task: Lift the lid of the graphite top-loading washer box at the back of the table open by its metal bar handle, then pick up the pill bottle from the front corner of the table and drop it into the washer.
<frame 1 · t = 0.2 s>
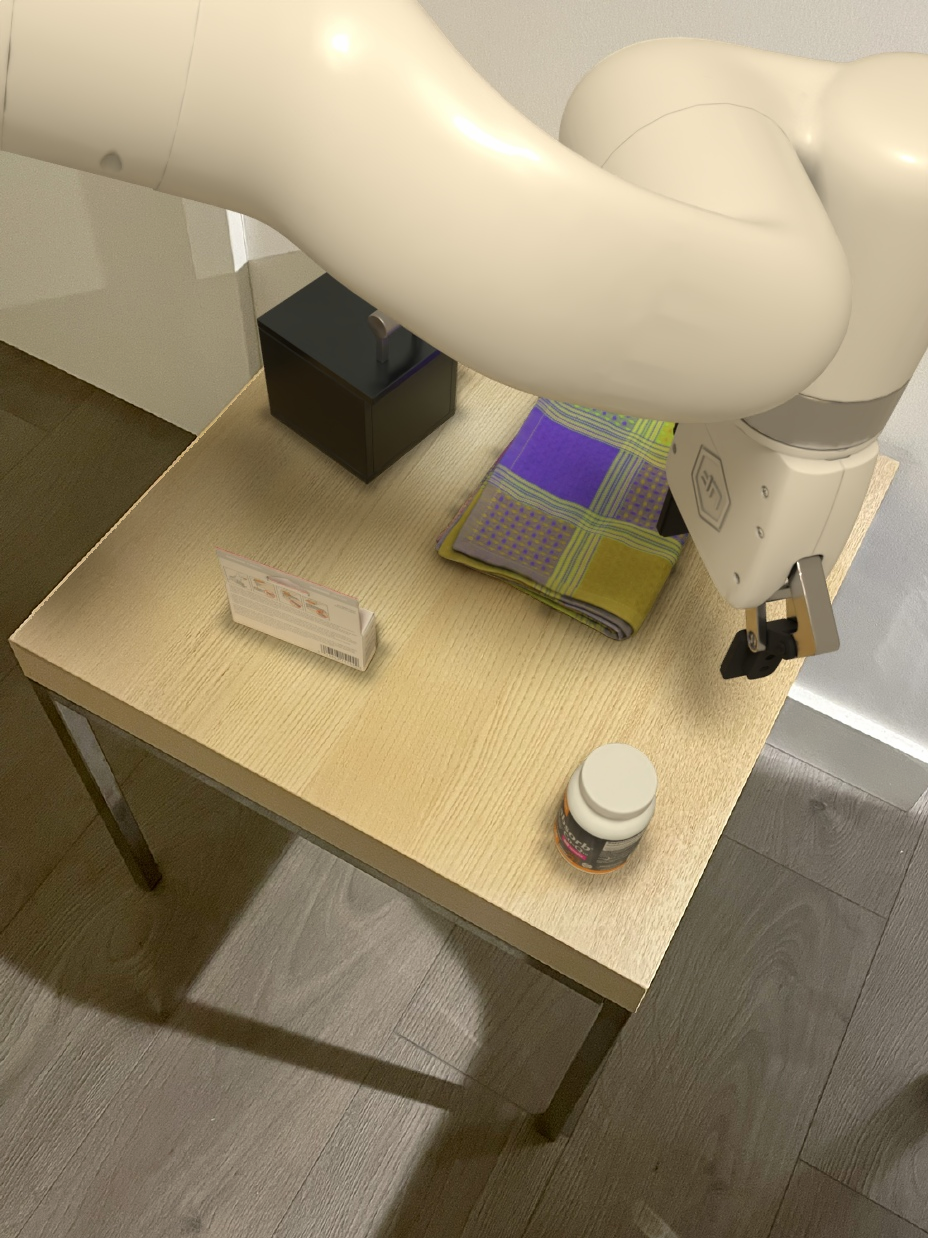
hand: (713, 596, 60), 20 cm above the table, tool pointing down, fingers open, 9 cm apart
washer: (363, 413, 93), on the table
washer lid: (362, 302, 83), point 13 cm above the table, hinge at 0.0°
pill bottle: (593, 838, 73), on the table
dish towel: (588, 505, 89), on the table
ink cartridge box: (304, 638, 81), on the table
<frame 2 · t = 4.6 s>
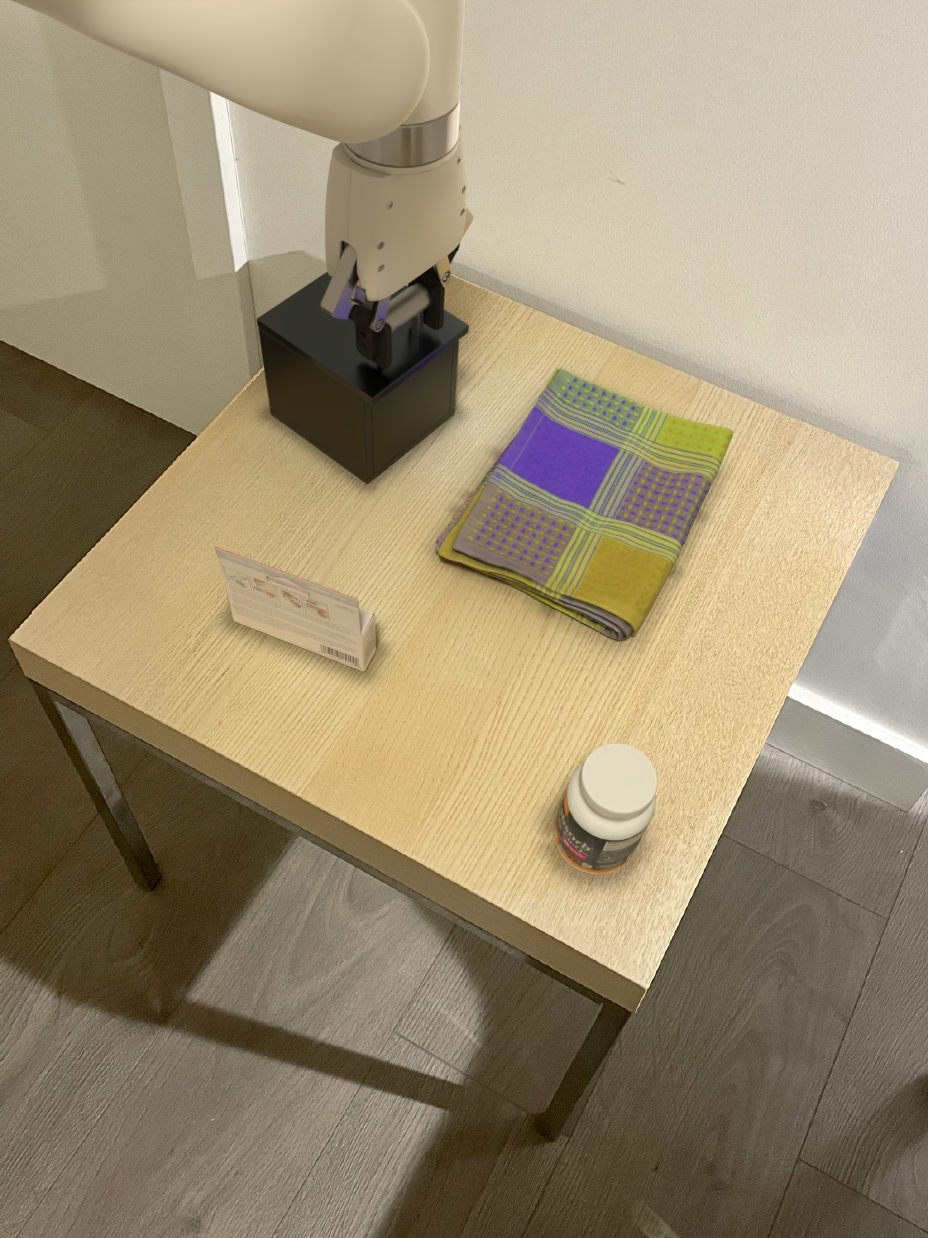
hand: (400, 337, 82), 12 cm above the table, tool pointing down, fingers closed on washer lid, 5 cm apart
washer lid: (362, 302, 83), point 12 cm above the table, hinge at 0.0°, touching gripper
everything else where it was.
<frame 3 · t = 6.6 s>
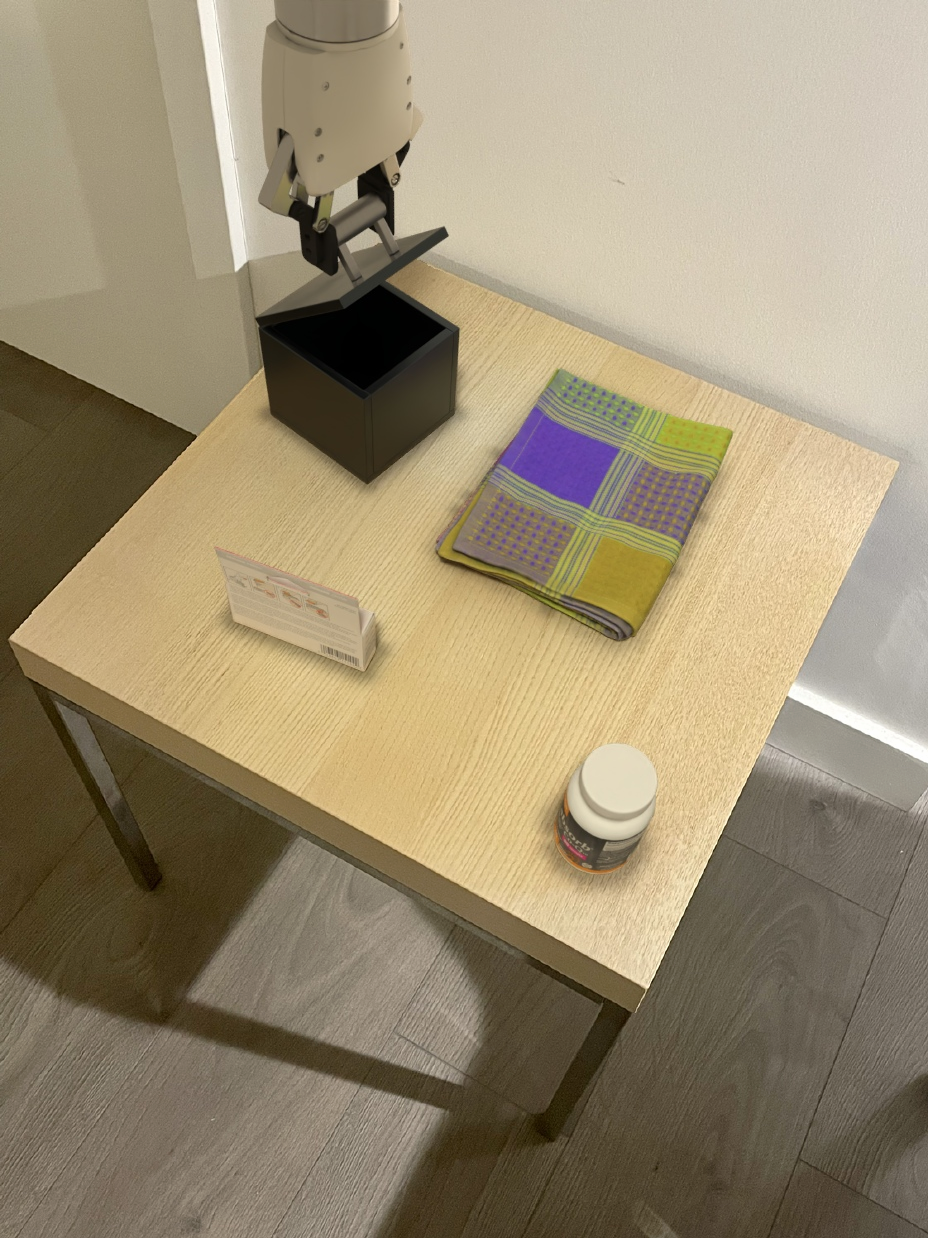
hand: (348, 245, 79), 17 cm above the table, tool pointing down, fingers closed on washer lid, 5 cm apart
washer lid: (334, 250, 81), point 16 cm above the table, hinge at 38.3°, touching gripper
everything else where it was.
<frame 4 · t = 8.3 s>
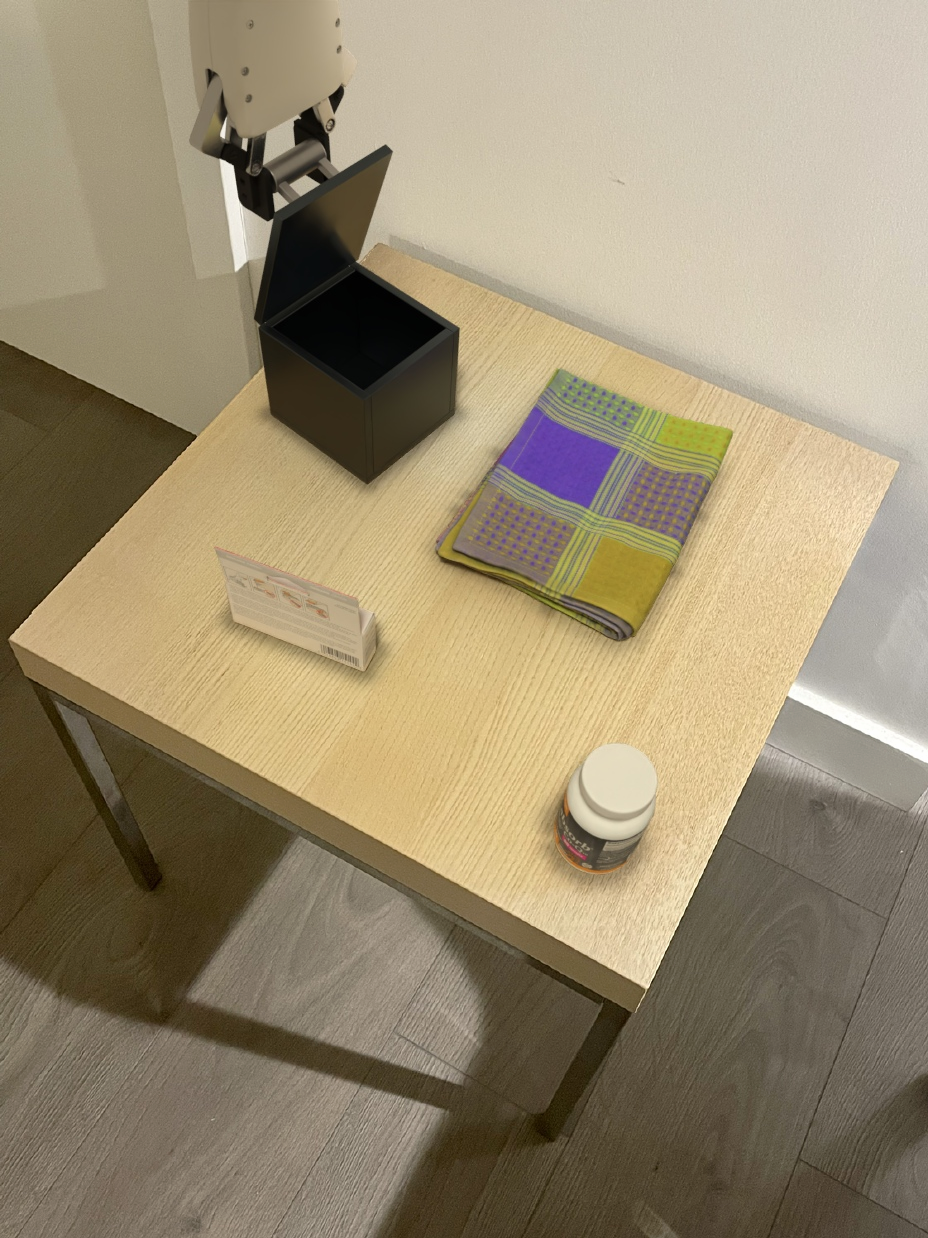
hand: (286, 191, 80), 18 cm above the table, tool pointing down, fingers open, 5 cm apart
washer lid: (300, 217, 81), point 17 cm above the table, hinge at 71.1°
everything else where it was.
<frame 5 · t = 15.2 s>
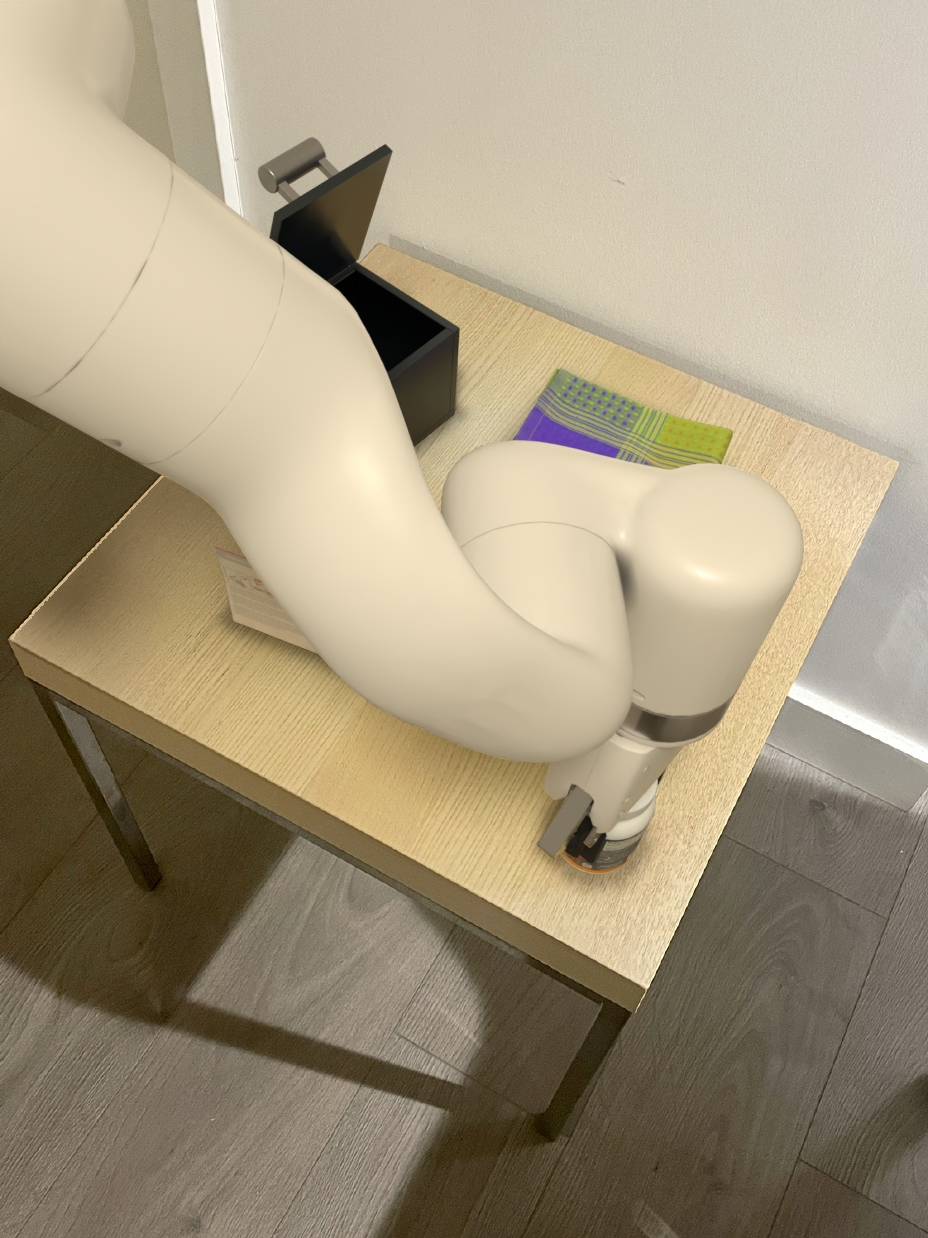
hand: (605, 808, 69), 5 cm above the table, tool pointing down, fingers closed on pill bottle, 5 cm apart
pill bottle: (593, 838, 73), on the table, touching gripper
everything else where it was.
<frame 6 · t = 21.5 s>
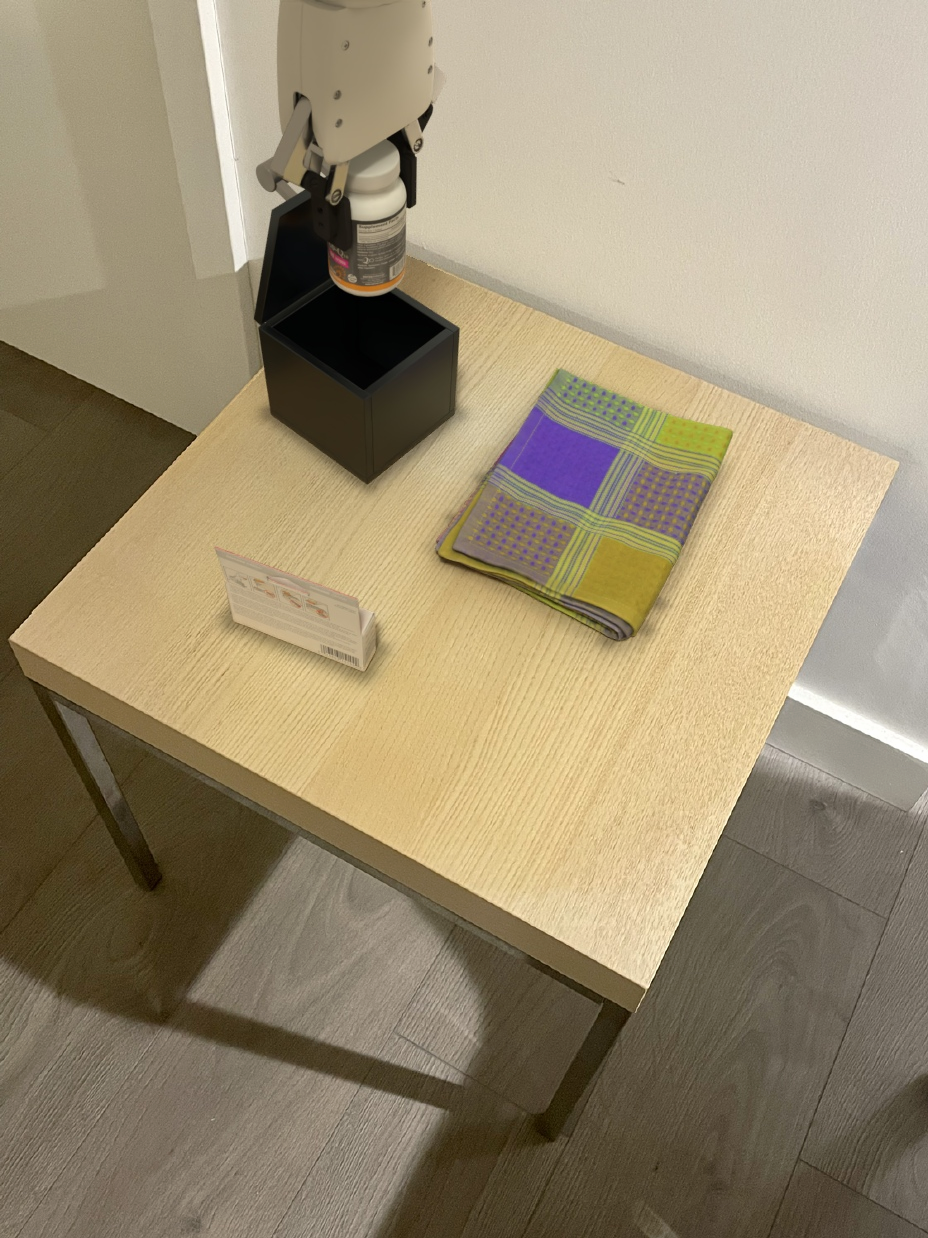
hand: (365, 217, 76), 21 cm above the table, tool pointing down, fingers closed on pill bottle, 5 cm apart
washer lid: (298, 216, 81), point 17 cm above the table, hinge at 72.4°, touching pill bottle
pill bottle: (367, 276, 80), point 15 cm above the table, touching gripper, washer lid
everything else where it was.
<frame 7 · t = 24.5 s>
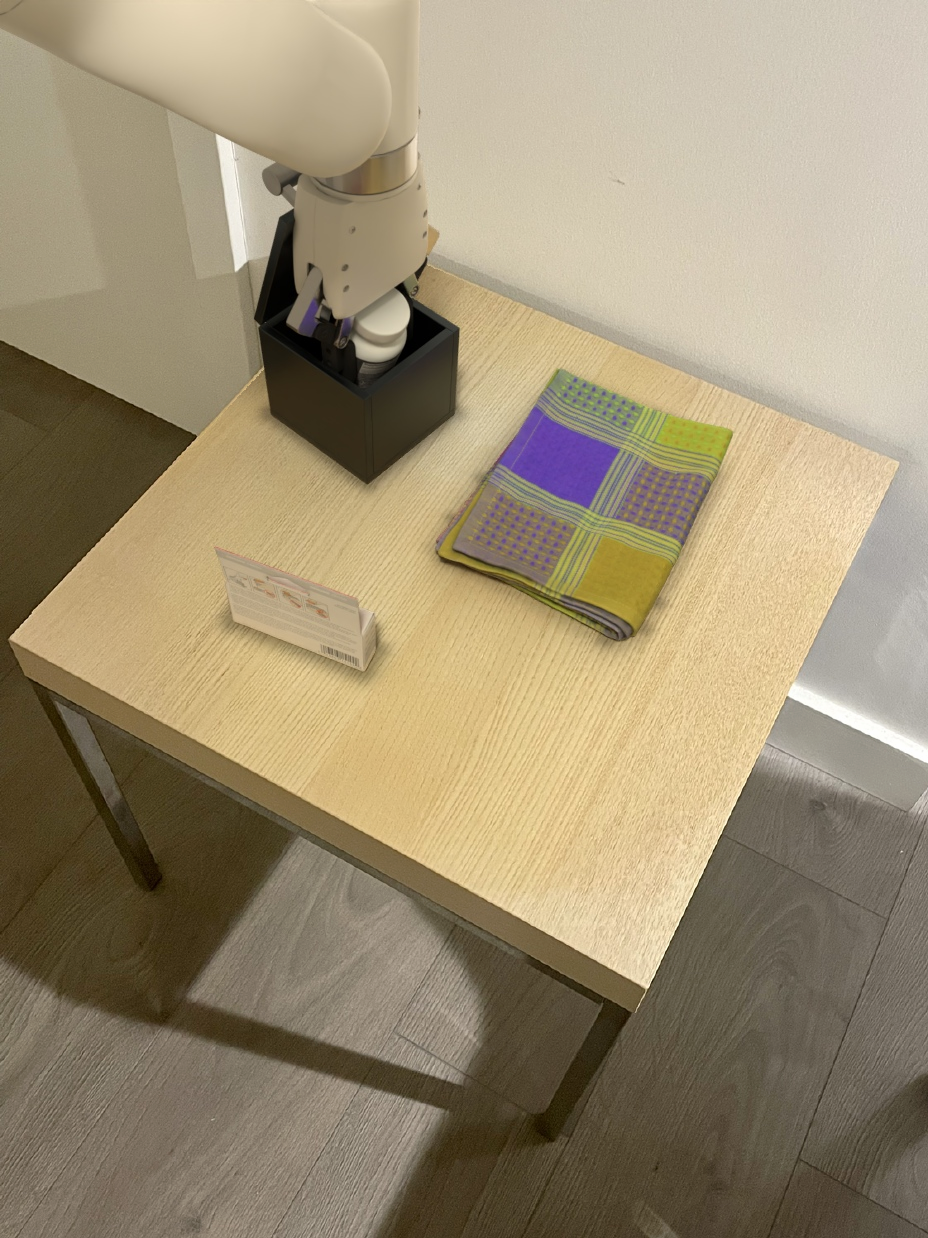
hand: (368, 350, 86), 8 cm above the table, tool pointing down, fingers closed on pill bottle, 5 cm apart
washer lid: (302, 218, 81), point 17 cm above the table, hinge at 69.0°
pill bottle: (352, 375, 91), point 4 cm above the table, touching gripper
everything else where it was.
when the fingers open (11 cm above the table, at t = 42.8 s): pill bottle drops 6 cm, resting on washer.
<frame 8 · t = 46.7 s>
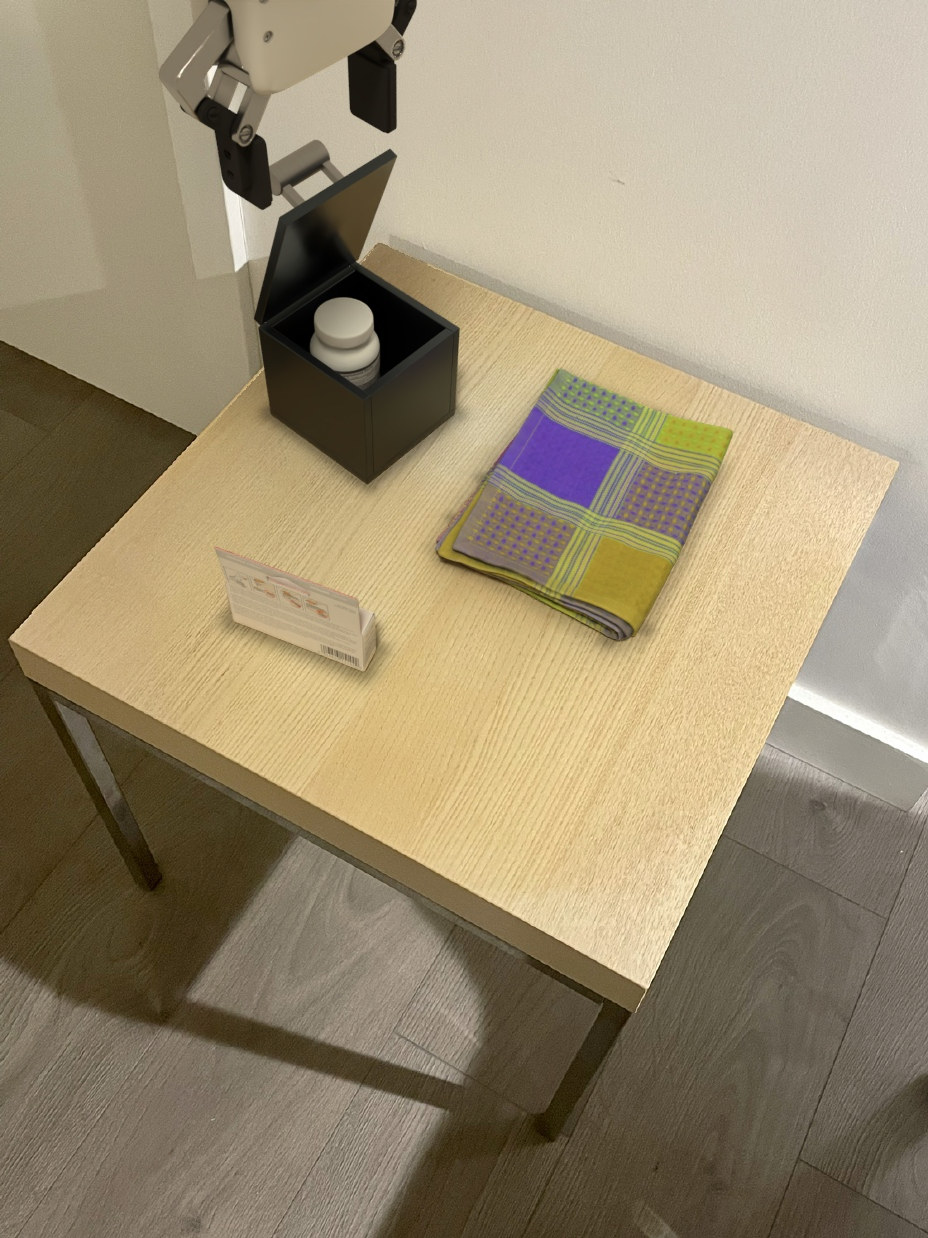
hand: (313, 158, 60), 32 cm above the table, tool pointing down, fingers open, 9 cm apart
pill bottle: (348, 407, 93), point 1 cm above the table, touching washer
everything else where it was.
at the end: washer lid at +69° (first picture: +0°); pill bottle inside the target area in the washer (1.3 cm from its centre), point 0.6 cm above the washer's base; the gripper is holding nothing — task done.
